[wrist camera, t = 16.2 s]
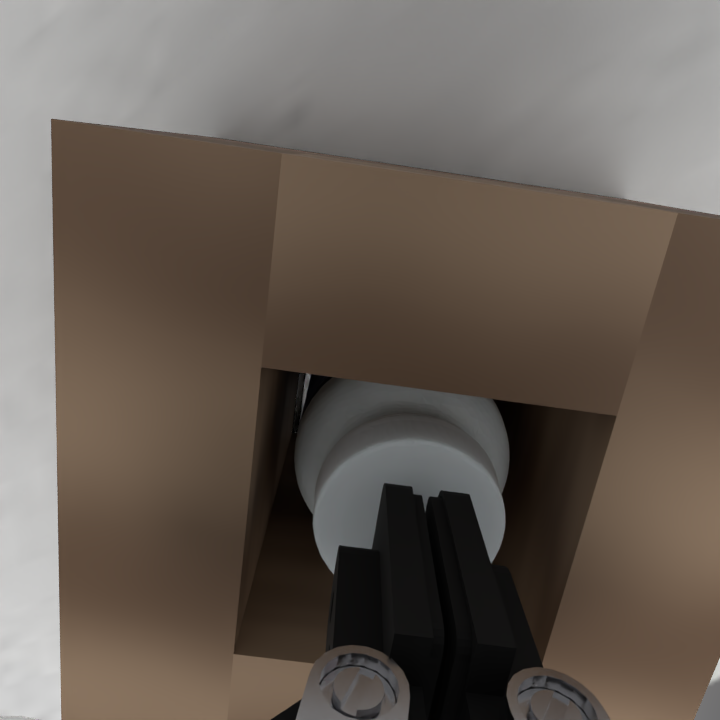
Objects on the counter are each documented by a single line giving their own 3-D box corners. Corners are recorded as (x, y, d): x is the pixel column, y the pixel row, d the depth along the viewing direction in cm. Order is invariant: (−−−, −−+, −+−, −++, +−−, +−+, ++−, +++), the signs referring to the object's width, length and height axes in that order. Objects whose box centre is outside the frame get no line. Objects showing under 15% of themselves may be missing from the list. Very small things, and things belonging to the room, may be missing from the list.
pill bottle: (299, 418, 22) (253, 604, 13) (335, 277, 21) (310, 377, 11) (440, 453, 23) (492, 657, 13) (487, 317, 21) (581, 444, 12)
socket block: (213, 137, 20) (50, 119, 10) (626, 199, 21) (891, 245, 10) (190, 503, 25) (62, 760, 14) (531, 547, 25) (649, 825, 15)
